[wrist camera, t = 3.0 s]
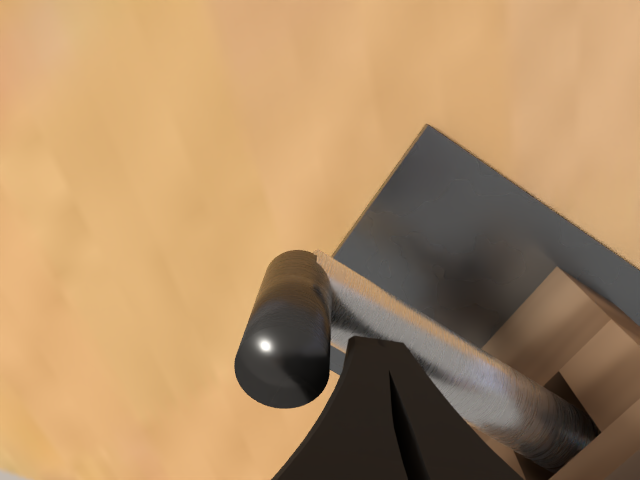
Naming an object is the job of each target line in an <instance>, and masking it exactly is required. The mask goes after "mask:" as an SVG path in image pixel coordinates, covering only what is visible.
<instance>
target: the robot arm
mask: <svg viewBox="0 0 640 480" xmlns="http://www.w3.org/2000/svg"><path fill="white" fill-rule="evenodd" d="M271 480H524V479H523V478H522V477H521V476H520V475H519V474H518V473H517V472H515V471H514V470H513V469H512V468H511V467H510V466H509V465H508V464H507V463H506V462H505V461H504V460H503V459H502V458H501V457H500V456H498V455H497V454H496V453H495V452H494V451H493V450H492V449H491V448H490V447H489V446H488V445H487V444H486V443H485V442H484V441H483V440H482V439H481V438H480V437H479V435H478V434H477V433H476V432H475V431H474V430H473V429H472V428H471V427H470V426H469V424H468V423H467V422H466V421H465V420H464V419H463V418H462V417H461V416H460V415H459V413H458V412H457V411H456V410H455V409H454V408H453V406H452V405H451V404H450V403H449V402H448V400H447V399H446V398H445V397H444V395H443V394H442V393H441V392H440V390H439V389H438V388H437V387H436V385H435V384H434V383H433V382H432V380H431V379H430V378H429V376H428V375H427V374H426V372H425V371H424V370H423V368H422V367H421V366H420V364H419V363H418V362H417V360H416V359H415V357H414V356H413V355H412V353H411V352H410V351H409V349H408V348H407V347H406V345H405V344H404V343H402V342H396V341H389V340H382V339H375V338H368V337H361V336H355V335H354V336H353V337H351V338H349V339H348V344H347V349H346V354H345V359H344V365H343V370H342V373H341V375H340V378H339V380H338V382H337V385H336V387H335V389H334V391H333V393H332V395H331V397H330V398H329V400H328V402H327V404H326V406H325V408H324V409H323V411H322V413H321V415H320V416H319V418H318V419H317V421H316V423H315V424H314V426H313V427H312V429H311V430H310V432H309V433H308V434H307V436H306V437H305V439H304V440H303V442H302V443H301V444H300V446H299V447H298V448H297V449H296V451H295V452H294V453H293V454H292V456H291V457H290V458H289V459H288V461H287V462H286V463H285V464H284V466H283V467H282V468H281V469H280V470H279V471H278V473H277V474H276V475H275V476H274V477H273V478H272V479H271Z"/></svg>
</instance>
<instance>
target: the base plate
mask: <svg viewBox="0 0 640 480" xmlns="http://www.w3.org/2000/svg"><path fill="white" fill-rule="evenodd" d="M331 257H332V258H333V259H335V260H337V261H338V262H340V263H342V264H343V265H345V266H346V267H348V268H350V269H351V270H353V271H355V272H356V273H358V274H360V275H361V276H363V277H364V278H366V279H368V280H369V281H371V282H373V283H374V284H376V285H378V286H379V287H381V288H382V289H384V290H386V291H387V292H389V293H391V294H392V295H394V296H396V297H397V298H399V299H400V300H402V301H404V302H405V303H407V304H409V305H410V306H412V307H414V308H415V309H417V310H418V311H420V312H422V313H423V314H425V315H427V316H428V317H430V318H432V319H433V320H435V321H436V322H438V323H440V324H441V325H443V326H445V327H446V328H448V329H450V330H451V331H453V332H454V333H456V334H458V335H459V336H461V337H463V338H464V339H466V340H467V341H469V342H471V343H472V344H474V345H476V346H477V347H479V348H482V347H483V346H484V345H485V344H486V343H487V342H488V341H489V340H490V339H491V337H492V336H493V335H494V334H495V333H496V332H497V331H498V330H499V329H500V328H501V327H502V326H503V324H504V323H505V322H506V321H507V320H508V319H509V318H510V317H511V316H512V315H513V314H514V312H515V311H516V310H517V309H518V308H519V307H520V306H521V305H522V304H523V303H524V302H525V300H526V299H527V298H528V297H529V296H530V295H531V294H532V293H533V292H534V291H535V290H536V288H537V287H538V286H539V285H540V284H541V283H542V282H543V281H544V280H545V279H546V278H547V276H548V275H549V274H550V273H551V272H552V271H553V270H554V269H555V268H556V267H557V266H558V267H559V268H561V269H562V270H564V271H565V272H567V273H568V274H570V275H571V276H573V277H574V278H576V279H577V280H579V281H580V282H582V283H583V284H585V285H586V286H588V287H589V288H590V289H592V290H593V291H595V292H596V293H598V294H599V295H601V296H602V297H604V298H605V299H607V300H608V301H610V302H611V303H613V304H614V305H616V306H617V307H619V308H620V309H621V310H622V311H623V312H624V313H625V314H626V315H627V316H629V317H630V318H631V319H632V320H633V321H634V322H635V323H636V324H637V325H639V326H640V271H639V270H638V269H636V268H635V267H634V266H632V265H631V264H629V263H628V262H626V261H625V260H623V259H622V258H620V257H619V256H618V255H616V254H615V253H613V252H612V251H610V250H609V249H607V248H606V247H605V246H603V245H602V244H600V243H599V242H597V241H596V240H594V239H593V238H592V237H590V236H589V235H587V234H586V233H584V232H583V231H581V230H580V229H578V228H577V227H576V226H574V225H573V224H571V223H570V222H568V221H567V220H565V219H564V218H563V217H561V216H560V215H558V214H557V213H555V212H554V211H552V210H551V209H550V208H548V207H547V206H545V205H544V204H542V203H541V202H539V201H538V200H536V199H535V198H534V197H532V196H531V195H529V194H528V193H526V192H525V191H523V190H522V189H521V188H519V187H518V186H516V185H515V184H513V183H512V182H510V181H509V180H507V179H506V178H505V177H503V176H502V175H500V174H499V173H497V172H496V171H494V170H493V169H492V168H490V167H489V166H487V165H486V164H484V163H483V162H481V161H480V160H479V159H477V158H476V157H474V156H473V155H471V154H470V153H468V152H467V151H465V150H464V149H463V148H461V147H460V146H458V145H457V144H455V143H454V142H452V141H451V140H450V139H448V138H447V137H445V136H444V135H442V134H441V133H439V132H438V131H437V130H435V129H434V128H432V127H431V126H429V125H428V124H426V125H425V126H424V127H423V129H422V130H421V132H420V133H419V134H418V136H417V137H416V139H415V140H414V141H413V143H412V144H411V146H410V147H409V148H408V150H407V151H406V153H405V154H404V155H403V157H402V158H401V160H400V161H399V162H398V164H397V165H396V167H395V168H394V170H393V171H392V172H391V174H390V175H389V177H388V178H387V179H386V181H385V182H384V184H383V185H382V186H381V188H380V189H379V191H378V192H377V193H376V195H375V196H374V198H373V199H372V200H371V202H370V203H369V205H368V206H367V207H366V209H365V210H364V212H363V213H362V214H361V216H360V217H359V219H358V220H357V221H356V223H355V224H354V226H353V227H352V228H351V230H350V231H349V233H348V234H347V235H346V237H345V238H344V240H343V241H342V242H341V244H340V245H339V247H338V248H337V249H336V251H335V252H334V254H333V255H332V256H331ZM344 359H345V353H344V352H342V351H340V350H339V349H337V348H335V347H333V346H332V345H331V347H330V370H331V371H333V372H335V373H337V374H339V375H341V373H342V370H343V365H344Z"/></svg>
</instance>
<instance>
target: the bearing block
mask: <svg viewBox="0 0 640 480" xmlns="http://www.w3.org/2000/svg"><path fill="white" fill-rule="evenodd" d="M481 349H482V350H484V351H485V352H487V353H489V354H490V355H492V356H494V357H495V358H497V359H499V360H500V361H502V362H503V363H505V364H507V365H508V366H510V367H512V368H513V369H515V370H517V371H518V372H520V373H521V374H523V375H525V376H526V377H528V378H530V379H531V380H533V381H535V382H536V383H538V384H539V385H541V386H543V387H544V388H546V389H548V390H549V391H551V392H553V393H554V394H556V395H557V396H559V397H561V398H562V399H564V400H566V401H567V402H569V403H570V404H572V405H574V406H575V407H577V408H579V409H580V410H582V411H584V412H585V413H587V414H588V415H590V417H591V418H592V420H593V421H594V423H595V424H596V425H597V427H598V428H599V430H600V431H601V434H599V435H598V436H597V437H596V438H595V439H594V440H593V441H592V442H590V443H589V444H588V445H587V446H586V447H585V448H584V449H583V450H581V451H580V452H579V453H578V454H577V455H576V456H575V457H574V458H572V459H571V460H570V461H569V462H568V463H567V464H566V465H565V466H564V467H562V468H561V469H560V470H559V471H558V472H557V473H556V474H554V473H552V472H550V471H548V470H547V469H545V468H543V467H541V466H540V465H538V464H536V463H534V462H533V461H531V460H529V459H528V458H526V457H524V456H522V455H521V454H519V453H517V452H515V451H514V450H512V449H510V448H508V447H507V446H505V445H503V444H502V443H500V442H498V441H496V440H495V439H493V438H491V437H489V436H488V435H486V434H484V433H482V432H481V431H479V430H477V429H476V428H474V427H472V426H470V425H469V426H470V427H471V428H472V429H473V430H474V431H475V432H476V433H477V434H478V435H479V437H480V438H481V439H482V440H483V441H484V442H485V443H486V444H487V445H488V446H489V447H490V448H491V449H492V450H493V451H494V452H495V453H496V454H497V455H498V456H500V457H501V458H502V459H503V460H504V461H505V462H506V463H507V464H508V465H509V466H510V467H511V468H512V469H513V470H514V471H515V472H517V473H518V474H519V475H520V476H521V477H522V478H523V479H524V480H640V326H639V325H637V324H636V323H635V322H634V321H633V320H632V319H631V318H630V317H629V316H627V315H626V314H625V313H624V312H623V311H622V310H621V309H620V308H619V307H617V306H616V305H614V304H613V303H611V302H610V301H608V300H607V299H605V298H604V297H602V296H601V295H599V294H598V293H596V292H595V291H593V290H592V289H590V288H589V287H588V286H586V285H585V284H583V283H582V282H580V281H579V280H577V279H576V278H574V277H573V276H571V275H570V274H568V273H567V272H565V271H564V270H562V269H561V268H559V267H558V266H557V267H556V268H555V269H554V270H553V271H552V272H551V273H550V274H549V275H548V276H547V278H546V279H545V280H544V281H543V282H542V283H541V284H540V285H539V286H538V287H537V288H536V290H535V291H534V292H533V293H532V294H531V295H530V296H529V297H528V298H527V299H526V300H525V302H524V303H523V304H522V305H521V306H520V307H519V308H518V309H517V310H516V311H515V312H514V314H513V315H512V316H511V317H510V318H509V319H508V320H507V321H506V322H505V323H504V324H503V326H502V327H501V328H500V329H499V330H498V331H497V332H496V333H495V334H494V335H493V336H492V337H491V339H490V340H489V341H488V342H487V343H486V344H485V345H484V346H483V347H482V348H481Z"/></svg>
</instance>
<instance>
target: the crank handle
mask: <svg viewBox="0 0 640 480" xmlns="http://www.w3.org/2000/svg"><path fill="white" fill-rule="evenodd" d="M354 335H355V336H361V337H368V338H375V339H382V340H389V341H396V342H402V343H404V344H405V345H406V347H407V348H408V349H409V351H410V352H411V353H412V355H413V356H414V357H415V359H416V360H417V362H418V363H419V364H420V366H421V367H422V368H423V370H424V371H425V372H426V374H427V375H428V376H429V378H430V379H431V380H432V382H433V383H434V384H435V385H436V387H437V388H438V389H439V390H440V392H441V393H442V394H443V395H444V397H445V398H446V399H447V400H448V402H449V403H450V404H451V405H452V406H453V408H454V409H455V410H456V411H457V412H458V413H459V415H460V416H461V417H462V418H463V419H464V420H465V421H466V422H467V423H468V424H469V425H470V426H472V427H474V428H476V429H477V430H479V431H481V432H482V433H484V434H486V435H488V436H489V437H491V438H493V439H495V440H496V441H498V442H500V443H502V444H503V445H505V446H507V447H508V448H510V449H512V450H514V451H515V452H517V453H519V454H521V455H522V456H524V457H526V458H528V459H529V460H531V461H533V462H534V463H536V464H538V465H540V466H541V467H543V468H545V469H547V470H548V471H550V472H552V473H554V474H556V473H557V472H558V471H559V470H560V469H561V468H562V467H564V466H565V465H566V464H567V463H568V462H569V461H570V460H571V459H572V458H574V457H575V456H576V455H577V454H578V453H579V452H580V451H581V450H583V449H584V448H585V447H586V446H587V445H588V444H589V443H590V442H592V441H593V440H594V439H595V438H596V437H597V436H598V435H599V434H601V431H600V430H599V428H598V427H597V425H596V424H595V423H594V421H593V420H592V418H591V417H590V415H588V414H587V413H585V412H584V411H582V410H580V409H579V408H577V407H575V406H574V405H572V404H570V403H569V402H567V401H566V400H564V399H562V398H561V397H559V396H557V395H556V394H554V393H553V392H551V391H549V390H548V389H546V388H544V387H543V386H541V385H539V384H538V383H536V382H535V381H533V380H531V379H530V378H528V377H526V376H525V375H523V374H521V373H520V372H518V371H517V370H515V369H513V368H512V367H510V366H508V365H507V364H505V363H503V362H502V361H500V360H499V359H497V358H495V357H494V356H492V355H490V354H489V353H487V352H485V351H484V350H482V349H481V348H479V347H477V346H476V345H474V344H472V343H471V342H469V341H467V340H466V339H464V338H463V337H461V336H459V335H458V334H456V333H454V332H453V331H451V330H450V329H448V328H446V327H445V326H443V325H441V324H440V323H438V322H436V321H435V320H433V319H432V318H430V317H428V316H427V315H425V314H423V313H422V312H420V311H418V310H417V309H415V308H414V307H412V306H410V305H409V304H407V303H405V302H404V301H402V300H400V299H399V298H397V297H396V296H394V295H392V294H391V293H389V292H387V291H386V290H384V289H382V288H381V287H379V286H378V285H376V284H374V283H373V282H371V281H369V280H368V279H366V278H364V277H363V276H361V275H360V274H358V273H356V272H355V271H353V270H351V269H350V268H348V267H346V266H345V265H343V264H342V263H340V262H338V261H337V260H335V259H333V258H332V257H330V256H329V255H327V254H325V253H324V252H322V251H320V250H319V249H317V250H315V251H314V252H313V253H311V252H307V251H302V250H293V251H288V252H285V253H282V254H280V255H279V256H277V257H276V258H275V259H274V260H273V261H272V262H271V263H270V264H269V266H268V268H267V270H266V273H265V276H264V279H263V281H262V284H261V287H260V290H259V293H258V295H257V298H256V301H255V304H254V307H253V310H252V312H251V315H250V318H249V321H248V324H247V327H246V329H245V332H244V335H243V338H242V341H241V343H240V346H239V349H238V352H237V355H236V358H235V366H234V367H235V374H236V378H237V380H238V382H239V384H240V386H241V387H242V389H243V390H244V391H245V392H246V393H247V394H248V395H249V396H250V397H251V398H253V399H254V400H256V401H257V402H259V403H262V404H264V405H267V406H270V407H274V408H285V409H287V408H295V407H300V406H303V405H305V404H307V403H309V402H311V401H313V400H314V399H315V398H317V397H318V396H319V395H320V394H321V393H322V391H323V390H324V388H325V387H326V385H327V382H328V379H329V372H330V347H331V345H332V346H333V347H335V348H337V349H339V350H340V351H342V352H344V353H345V354H346V349H347V344H348V339H349V338H351V337H353V336H354Z"/></svg>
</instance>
